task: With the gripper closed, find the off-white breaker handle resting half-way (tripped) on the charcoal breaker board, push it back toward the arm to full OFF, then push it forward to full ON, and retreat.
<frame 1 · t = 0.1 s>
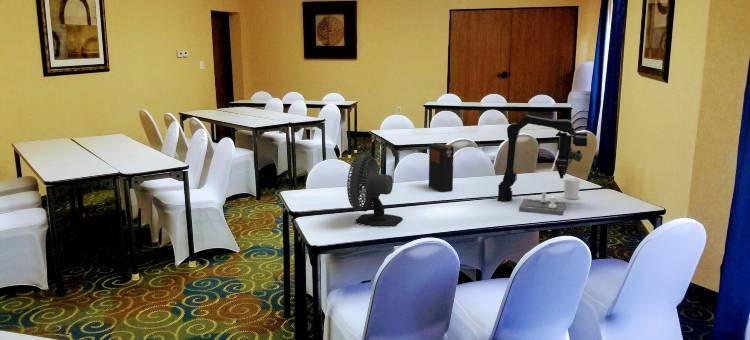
hand: (563, 176, 298), 14 cm above the table, fingers open, 9 cm apart
tripped breaker: (543, 196, 297), point 5 cm above the table, slide at 0.0 cm
breaker board: (542, 208, 294), on the table
fan: (371, 221, 274), on the table
white cup: (571, 198, 314), on the table
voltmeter: (440, 189, 335), on the table
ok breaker: (552, 202, 286), point 5 cm above the table, slide at 5.0 cm
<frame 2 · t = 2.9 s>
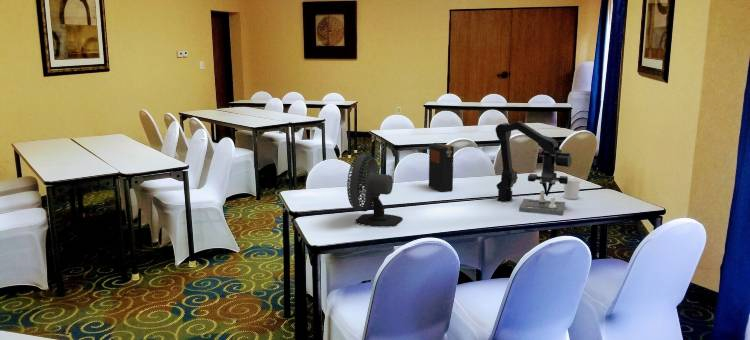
hand: (546, 195, 297), 5 cm above the table, fingers closed
tripped breaker: (542, 196, 297), point 5 cm above the table, slide at -0.8 cm, touching gripper
everything else where it was.
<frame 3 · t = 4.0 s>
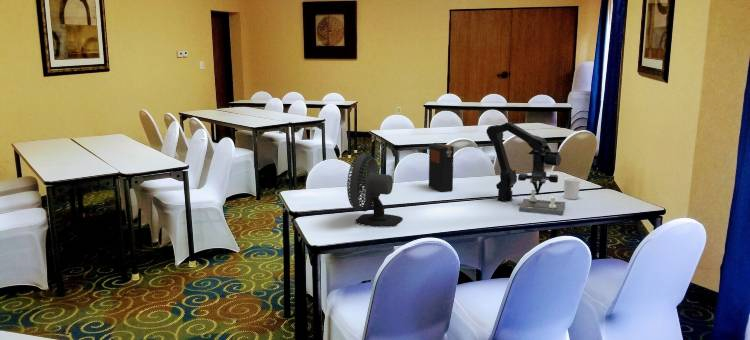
hand: (537, 194, 298), 6 cm above the table, fingers closed
tripped breaker: (533, 195, 299), point 5 cm above the table, slide at -5.1 cm, touching gripper
everything else where it was.
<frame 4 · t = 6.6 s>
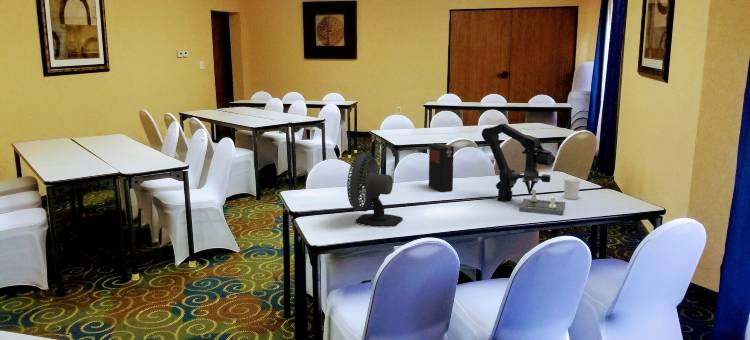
hand: (529, 194, 299), 6 cm above the table, fingers closed
tripped breaker: (533, 195, 299), point 5 cm above the table, slide at -4.8 cm, touching gripper
everything else where it was.
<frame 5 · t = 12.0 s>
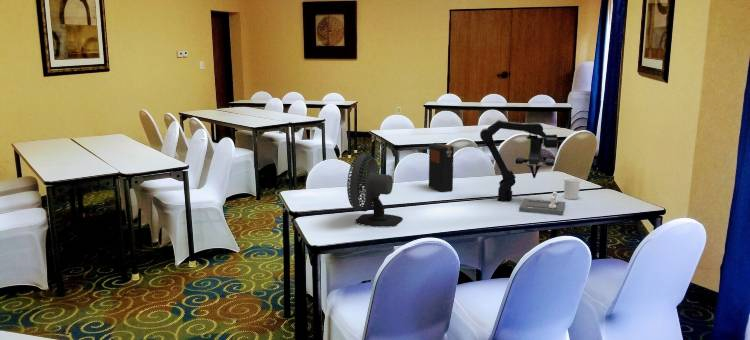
hand: (534, 177, 306), 12 cm above the table, fingers closed
tripped breaker: (554, 197, 295), point 5 cm above the table, slide at 5.1 cm
everything else where it was.
at the end: tripped breaker slide at 5.1 cm; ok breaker slide at 5.0 cm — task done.
